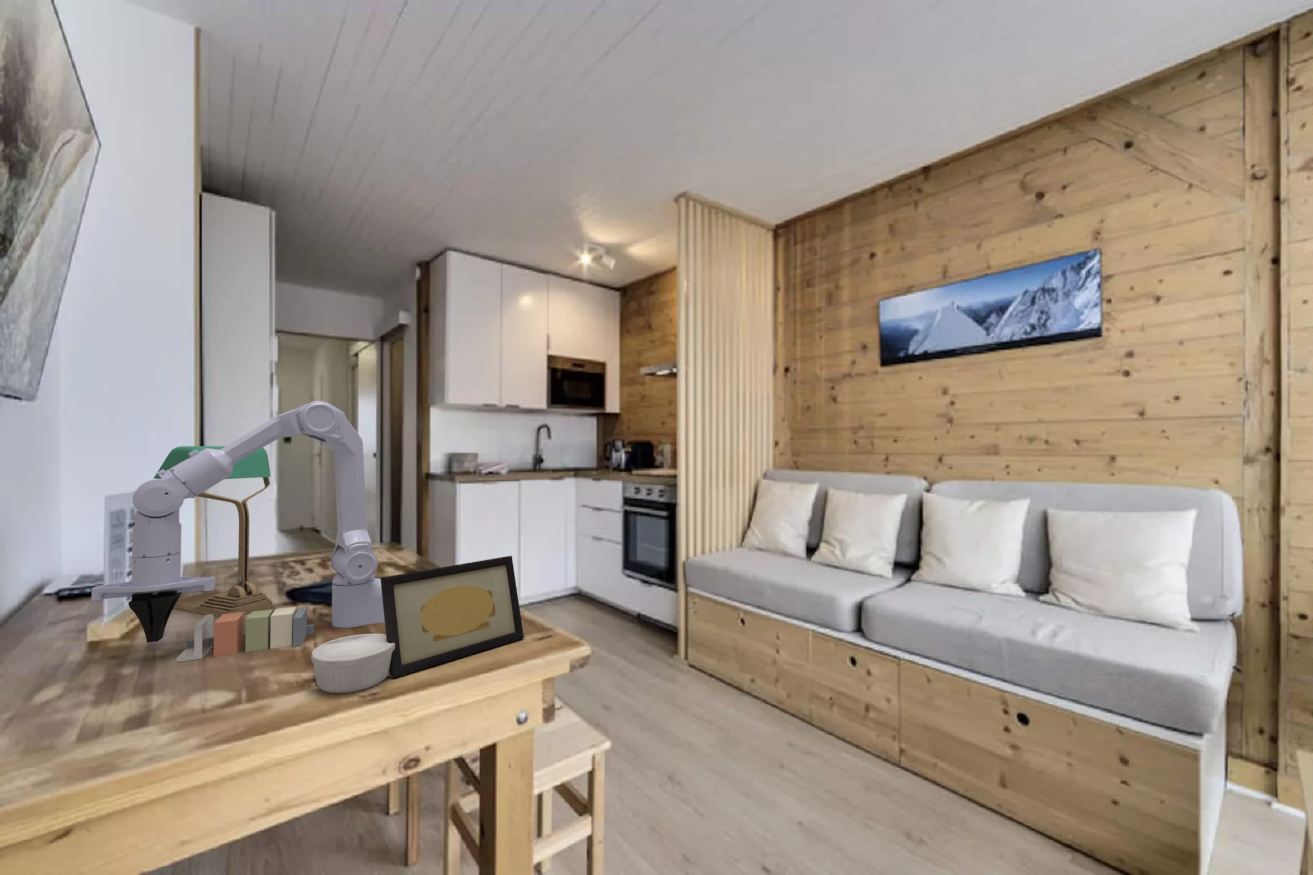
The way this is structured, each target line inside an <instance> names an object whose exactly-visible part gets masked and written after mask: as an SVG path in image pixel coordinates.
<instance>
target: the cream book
mask: <svg viewBox="0 0 1313 875" xmlns="http://www.w3.org/2000/svg"><path fill="white" fill-rule="evenodd" d="M297 607H298V606H291V607H290V606H289V607H281V608H276V609H275V610H273V614H272V615H271V638H270V646H269V648H270V649H271V650H272V649H278V648H279V649H280V648H287V647H293V618H294V616H295V614H296V613H297V611H298V608H297Z"/></svg>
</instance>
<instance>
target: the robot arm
mask: <svg viewBox="0 0 1313 875" xmlns="http://www.w3.org/2000/svg"><path fill="white" fill-rule="evenodd" d="M302 435H303V436H305V437H308V438H311V439H314V440H317V441H319V442H320V443H321V444H323V445H324V446H326V448H328V449H330V450H331V451H332V452H333V456H334V457H333V458H334V459H333V461H334V462H333V463H334V479H335V480H334V482H335V501H336V524H337V526H336V527H337V531H336V532H337V533H336V536H335V544H334V545H335V546H334V551H333V552H332V555H331V557H330V565H331V568H332V569H333V570H334V571H335V572H336V574H335V575H334V577H333V579H332V581H331V582H332V585H331V586H332V587H331V588H332V589H331V591H332V593H331V626H332V627H335V628H343V629H344V628H346V629H350V628H357V627H361V626H367V625H374V624H382V623H384V624H385V621H384V610H383V600H382V590H381V579H380V577H379V578H376V575H375V573H376V572H377V570H378V565H379V561H378V557H377V556H376V554H375V553H374V551H373V547H372V540H371V537H370V534H369V532H368V527H367V524H368V523H367V504H366V503H367V502H366V485H365V484H366V483H365V482H366V480H365V462H364V461H365V460H364V442H363V439H362V436H360V434H359V433H358V431H357V430H356V429H355V428H354V427H353V425H352V423H350V421H349V420H348V418H347V417H346V414H345V413H344V411H343V410H341V409H339V408H338V407H336V406H334V405H332V403H329V402H326V401H323V400H316V401H315V400H314V401H311V402H309V403H305V404H302V405H299V406H297V408H295V409H294V408H293V409H290V410H288V411H285V412H284V413H281V414H279V415H276V416H273V417H272V418H269V419H268V420H267V421H265V422H263V423H262V424H260V425H259V426H257V427H255V428H253V429H252V430H251V431H248V432H247V433H246V434H243V435H242V436H241V437H239V438H237V439H236V440H234V441H232V442H230V443H229V444H227V445H225V446H226V447H224V448H222V449H221V450H218V449H209V448H206V449H204V450H202V451H200V452H198V451H197V450H194V451H193V452H191V453H189V454H188V455H189V456H190V458H188V459H186V460H185V461H183V462H181V463H179V464H177V465H176V466H174V467H172V468H170V470H171V471H172V472H173V473H172V472H171V471H170V470H167V471H165V470H161V471H159V472H158V471H157V472H156V473H157V474H158V475H159V476H160V478H161V479H150V480H147V481H144V482H143V483H142V484H140V486H138V488H136V490H135V491H134V493H133V496H132V504H133V506H134V508H135V509H136V511H135V514H134V515H133V522H134V526H133V527H132V544H131V545H132V551H131V552H132V553H131V581H127V582H119V583H112V584H111V583H110V584H101V585H99V584H98V585H97V586H95V587H92V588H91V600H90V601H91V602H94V601H96V602H97V601H102V600H107V599H108V600H109V599H117V598H128V597H129V598H131V599H130V601H128V607H129V609H130V610H132V613H134V614H135V617H136V618H137V620H138V621H139V623H140V625H141V626H142V629H143V632H144V635H145V639H146V643H147V644H148V643H155V642H157V643H158V642H159V641H161V640H162V639H163V638H164V633H165V629H166V627H167V623H168V621H169V617H170V616H171V614H172V612H173V610H174V609H173V608H174V606H175V604H176V603H177V601H178V599H180V598H181V596H182V593H188V592H198V591H204V592H211V591H214V589H215V587H216V576H183V577H182V576H181V570H182V569H181V568H182V567H181V566H182V565H181V562H182V560H181V559H182V524H181V522H180V509H181V507H182V506H183V504H184V501H185V500H186V499H194V498H196V497H198V495H199V494H201V493H203V492H206V491H208V490H209V489H210V488H212V487H214V486H216V485H217V484H219V483H220V482H222V481H223V480H224V481H225V480H226V479H225V478H227V477H229V476H230V475H232V471H233V465H234V464H235V463H236V462H238V461H240V460H242V459H243V458H245V457H247V456H249V455H250V454H252V453H254V452H256V451H257V450H259V449H261V448H264V447H266V446H268V445H270V444H272V443H273V442H274V441H277V440H279V439H283V438H288V437H296V436H302ZM195 495H196V496H195Z"/></svg>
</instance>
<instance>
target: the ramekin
mask: <svg viewBox="0 0 1313 875" xmlns="http://www.w3.org/2000/svg"><path fill="white" fill-rule="evenodd" d="M394 649H395V643H388V642H387V641H386V633H385V634H384V633H363V634H354V635H349V636H344V637H340V638H336V639H332V640H329V641H326V642H324V643H322V644H320V645H318V646H317V647H315V648H314V649H313V650H312V652H311V654H310V656H311V658H310V659H311V663H312V664H313V670H314V677H315V682H316V686H317V687H318V688H319V689H321V690H322V691H323V692H325V693H330V694H347V693H354V692H358V691H362V690H363V691H364V690H366V689H369V688H372V687H374V686H376V685H379V684H380V683H382V682H383V681H384V680H385V679H386V678H387V677H388V675H390V672H389V671H390V662H391V655H392V651H393V650H394Z"/></svg>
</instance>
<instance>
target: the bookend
mask: <svg viewBox="0 0 1313 875" xmlns="http://www.w3.org/2000/svg"><path fill="white" fill-rule="evenodd" d="M193 635H194V637H193V639H194V646H189V647H187V646H186V648H185V649H184V650H183V651H182V652H181V653H180V654H178V656H177V657H176V658H175V662H176V663H180V662H188V661H194V660H202V659H204V658H205V656H206V655H207V654H208V653H209V652H210V651H211V649H212V648H214V646H213V636H214V617H213V614H210V615H203V617H201V619H200V620H198V621H197V622H196V623H195V624H194V634H193Z"/></svg>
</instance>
